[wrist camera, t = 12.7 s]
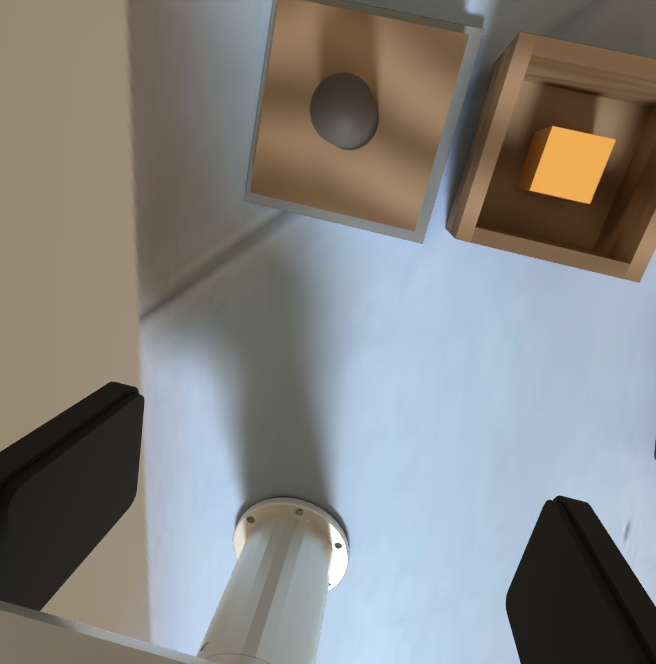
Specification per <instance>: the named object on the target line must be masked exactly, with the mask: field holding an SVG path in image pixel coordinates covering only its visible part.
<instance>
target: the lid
mask: <svg viewBox="0 0 656 664" xmlns="http://www.w3.org/2000/svg"><path fill="white" fill-rule="evenodd" d="M468 38H469V34H464V33H459V32H454V31H449V30H445V29H440V28H435V27H430V26H425V25H420V24H415V23H410V22H406V21H401V20H396V19H391V18H386V17H381V16H376V15H371V14H367V13H362V12H357V11H352V10H347V9H342V8H337V7H333V6H328V5H323V4H318V3H313V2H308V1H303V0H279V1H278V7H277V14H276V21H275V27H274V34H273V41H272V48H271V54H270V61H269V68H268V74H267V81H266V88H265V94H264V101H263V108H262V115H261V121H260V128H259V135H258V141H257V148H256V155H255V161H254V168H253V175H252V181H251V188H250V192H251V193H255V194H259V195H263V196H268V197H272V198H276V199H280V200H284V201H289V202H293V203H297V204H301V205H305V206H310V207H314V208H318V209H322V210H326V211H330V212H335V213H339V214H343V215H347V216H351V217H356V218H360V219H364V220H368V221H372V222H376V223H381V224H385V225H389V226H393V227H397V228H402V229H406V230H410V231H415V228H416V224H417V221H418V217H419V213H420V210H421V206H422V203H423V199H424V195H425V192H426V188H427V185H428V181H429V178H430V174H431V170H432V167H433V163H434V160H435V156H436V153H437V149H438V145H439V142H440V138H441V135H442V131H443V127H444V124H445V120H446V117H447V113H448V110H449V106H450V102H451V99H452V95H453V92H454V88H455V85H456V81H457V77H458V74H459V70H460V67H461V63H462V60H463V56H464V52H465V49H466V45H467V42H468Z"/></svg>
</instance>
